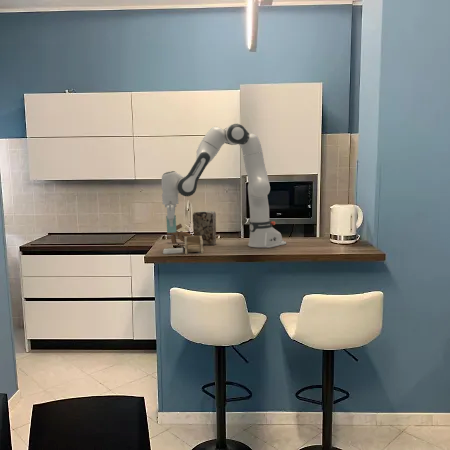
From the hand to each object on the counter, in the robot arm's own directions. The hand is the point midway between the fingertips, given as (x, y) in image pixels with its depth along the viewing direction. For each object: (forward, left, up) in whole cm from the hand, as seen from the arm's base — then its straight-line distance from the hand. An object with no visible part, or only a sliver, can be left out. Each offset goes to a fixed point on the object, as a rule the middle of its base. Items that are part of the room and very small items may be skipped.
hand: (171, 225), depth 267 cm
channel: (-10, +6, -15) cm, 19 cm away
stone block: (-24, -7, -15) cm, 29 cm away
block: (0, 0, -4) cm, 4 cm away
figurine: (-14, -22, -15) cm, 30 cm away
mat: (0, 0, -15) cm, 15 cm away
